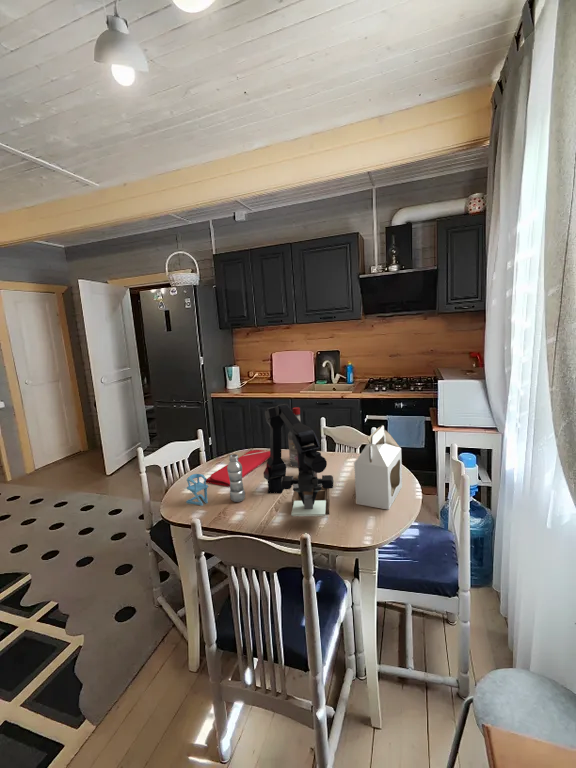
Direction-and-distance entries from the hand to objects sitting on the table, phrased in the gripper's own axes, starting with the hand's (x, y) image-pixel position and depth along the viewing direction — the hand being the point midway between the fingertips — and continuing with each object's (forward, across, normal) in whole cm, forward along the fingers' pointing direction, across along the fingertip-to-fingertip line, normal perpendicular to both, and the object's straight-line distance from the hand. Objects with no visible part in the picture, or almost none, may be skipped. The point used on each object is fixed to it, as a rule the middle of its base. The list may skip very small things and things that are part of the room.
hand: (308, 504), depth 139 cm
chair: (+7, -49, +17) cm, 53 cm away
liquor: (+7, -9, +57) cm, 58 cm away
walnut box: (+7, 0, +12) cm, 14 cm away
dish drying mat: (+8, -39, +53) cm, 66 cm away
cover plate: (+2, 0, 0) cm, 2 cm away
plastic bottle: (+7, -32, +18) cm, 38 cm away
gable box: (+8, +28, +22) cm, 36 cm away
